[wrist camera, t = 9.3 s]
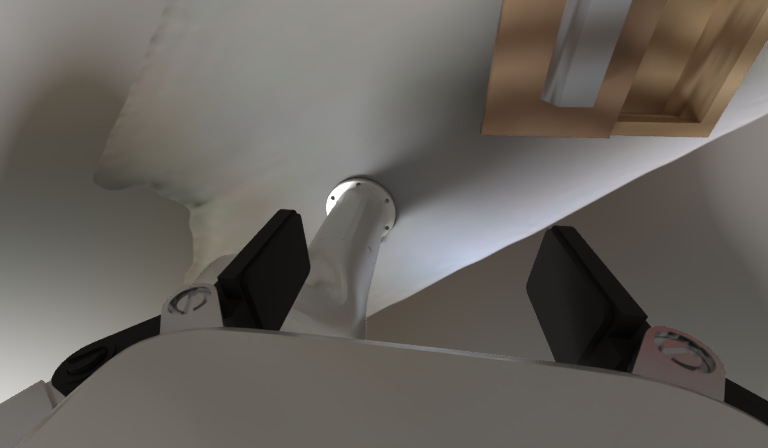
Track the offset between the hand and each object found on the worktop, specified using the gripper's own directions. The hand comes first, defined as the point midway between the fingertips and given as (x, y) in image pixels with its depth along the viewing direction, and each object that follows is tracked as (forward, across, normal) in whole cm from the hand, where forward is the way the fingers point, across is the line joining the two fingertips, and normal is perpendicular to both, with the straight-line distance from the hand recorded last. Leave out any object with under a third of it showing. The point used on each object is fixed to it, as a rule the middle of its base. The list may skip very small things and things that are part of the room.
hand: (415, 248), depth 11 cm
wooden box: (+34, -25, -7) cm, 43 cm away
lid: (+27, -14, -7) cm, 31 cm away
